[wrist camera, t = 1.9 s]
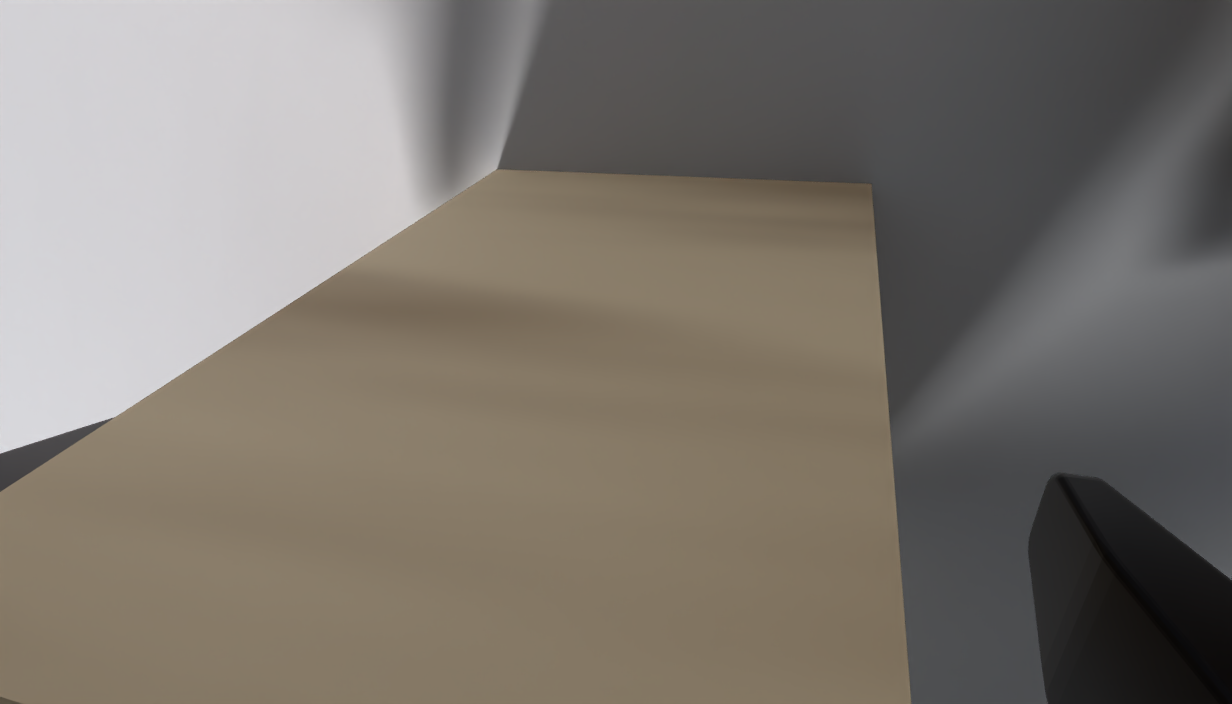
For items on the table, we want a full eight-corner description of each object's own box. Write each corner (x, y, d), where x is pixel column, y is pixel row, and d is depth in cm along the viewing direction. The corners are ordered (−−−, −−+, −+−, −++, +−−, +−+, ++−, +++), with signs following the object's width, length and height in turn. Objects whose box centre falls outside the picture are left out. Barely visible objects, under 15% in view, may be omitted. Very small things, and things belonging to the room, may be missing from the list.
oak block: (827, 496, 11) (790, 1320, 4) (533, 451, 12) (167, 1039, 6) (871, 182, 9) (935, 990, 2) (497, 169, 10) (-213, 630, 3)
